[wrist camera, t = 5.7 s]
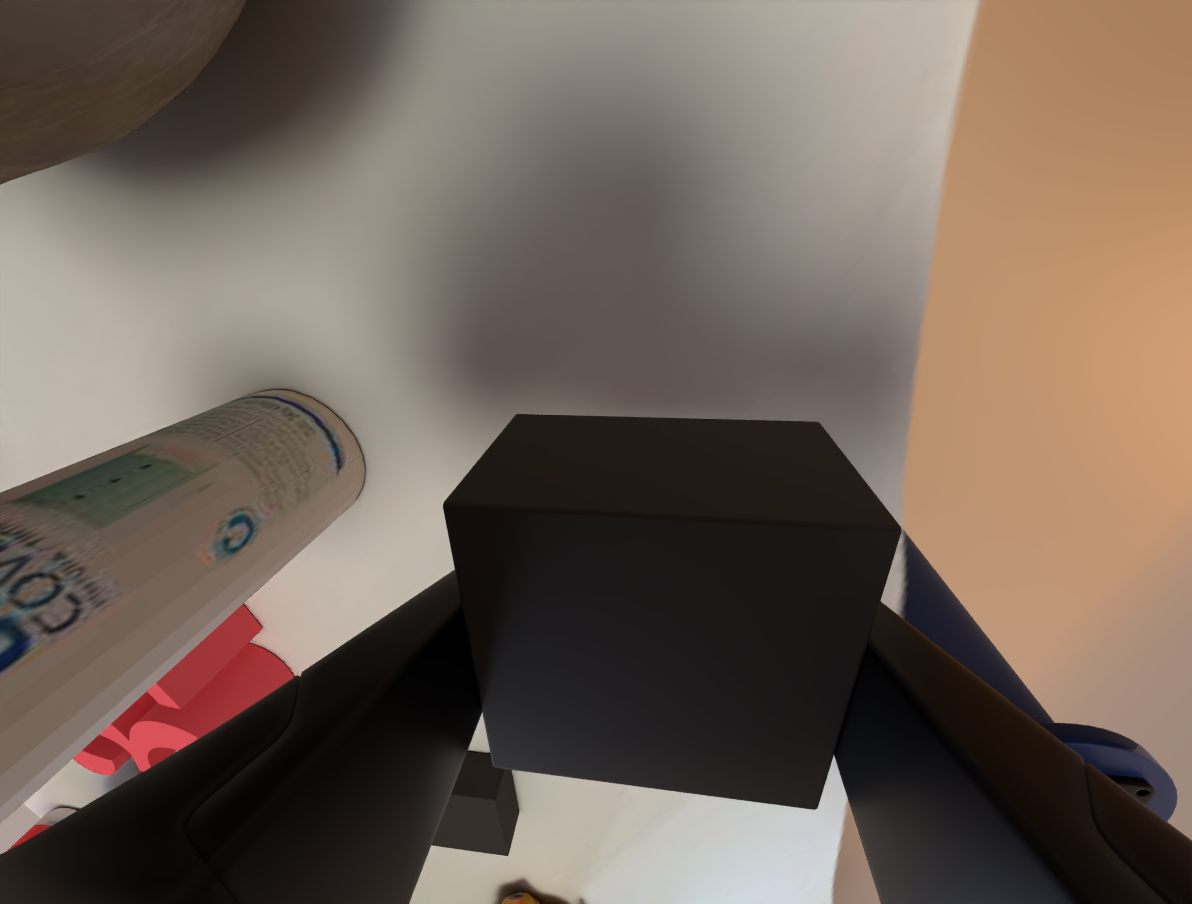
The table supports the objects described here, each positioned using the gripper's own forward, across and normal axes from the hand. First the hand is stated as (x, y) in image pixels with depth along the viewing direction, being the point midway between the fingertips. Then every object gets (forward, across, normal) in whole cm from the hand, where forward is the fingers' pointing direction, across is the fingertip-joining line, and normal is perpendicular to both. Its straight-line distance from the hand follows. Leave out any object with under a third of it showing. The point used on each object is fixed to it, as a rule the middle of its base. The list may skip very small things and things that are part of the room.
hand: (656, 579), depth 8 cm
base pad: (+11, +12, +27) cm, 31 cm away
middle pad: (+1, 0, 0) cm, 1 cm away
